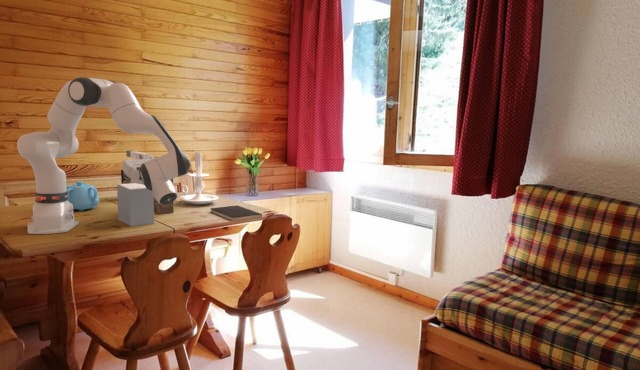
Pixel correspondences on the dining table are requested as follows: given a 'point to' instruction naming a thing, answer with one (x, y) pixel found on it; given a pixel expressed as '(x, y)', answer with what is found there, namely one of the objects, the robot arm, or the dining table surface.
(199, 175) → the candlestick
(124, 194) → the paper box
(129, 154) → the marker
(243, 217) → the hardcover book
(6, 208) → the dining table surface
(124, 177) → the coffee box
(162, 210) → the walnut stand
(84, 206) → the decorative pot
